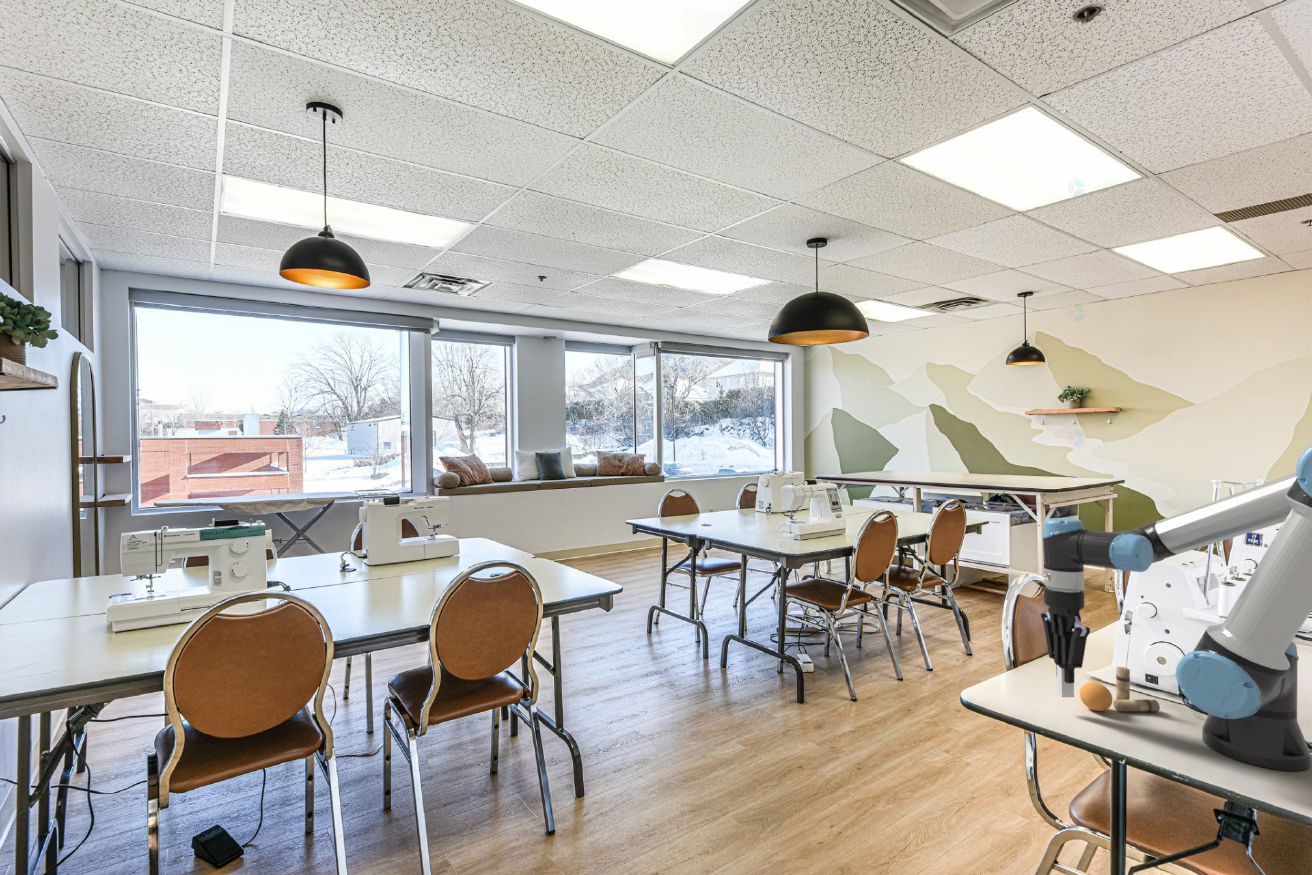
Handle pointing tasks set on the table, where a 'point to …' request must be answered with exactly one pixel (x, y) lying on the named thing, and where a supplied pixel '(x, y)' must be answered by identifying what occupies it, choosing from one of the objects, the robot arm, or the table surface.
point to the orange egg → (1096, 696)
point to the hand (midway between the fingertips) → (1065, 695)
